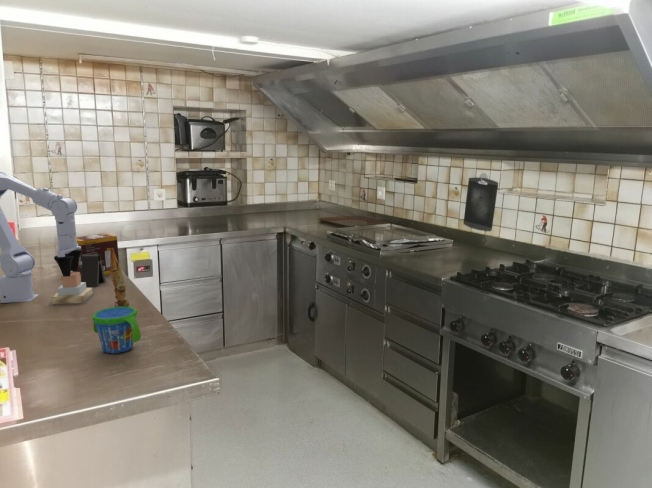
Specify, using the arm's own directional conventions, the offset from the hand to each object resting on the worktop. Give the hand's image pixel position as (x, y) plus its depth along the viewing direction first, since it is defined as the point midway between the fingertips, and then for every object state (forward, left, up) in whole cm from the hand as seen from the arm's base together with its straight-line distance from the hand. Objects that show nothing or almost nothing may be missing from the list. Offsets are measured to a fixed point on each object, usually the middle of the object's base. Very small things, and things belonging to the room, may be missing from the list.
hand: (70, 273), depth 178 cm
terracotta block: (0, 0, -4) cm, 4 cm away
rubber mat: (0, 0, -10) cm, 10 cm away
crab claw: (+18, -9, -10) cm, 22 cm away
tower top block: (0, 0, -7) cm, 7 cm away
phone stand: (+1, +20, -10) cm, 22 cm away
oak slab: (0, 0, -9) cm, 9 cm away
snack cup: (+26, -47, -10) cm, 55 cm away
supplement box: (-3, +39, -10) cm, 40 cm away
